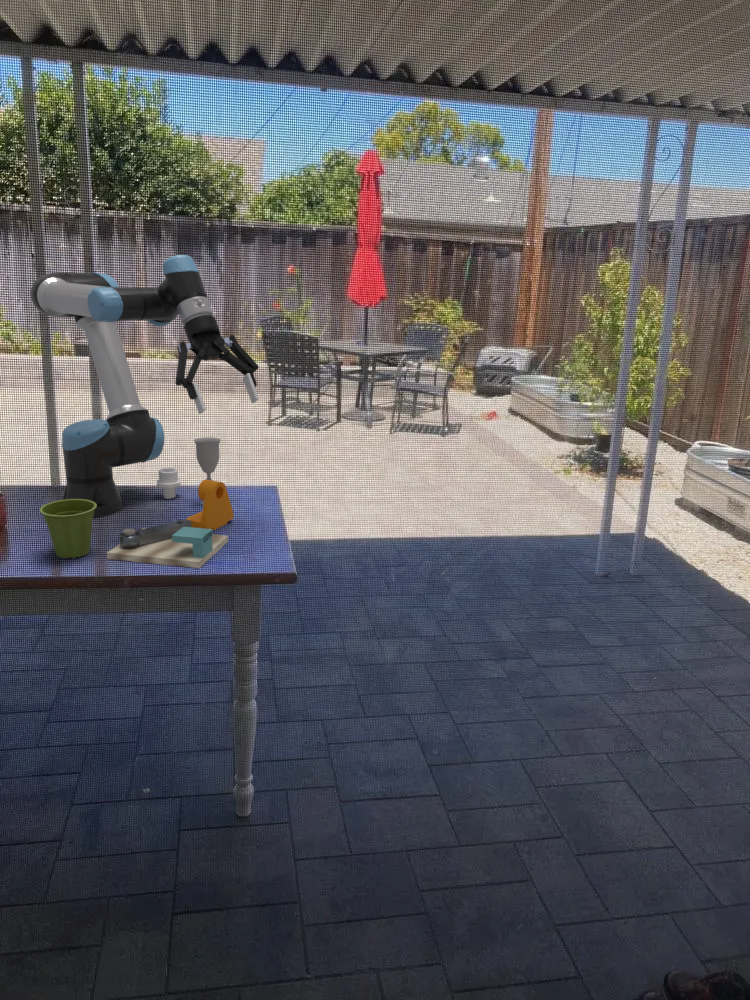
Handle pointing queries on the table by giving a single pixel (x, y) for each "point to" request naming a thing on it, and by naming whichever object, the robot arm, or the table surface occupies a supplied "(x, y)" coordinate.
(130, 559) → the base board
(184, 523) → the link
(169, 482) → the pipe fitting
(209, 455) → the chalice
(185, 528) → the block
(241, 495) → the table surface
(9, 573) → the table surface
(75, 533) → the plant pot
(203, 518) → the bracket
